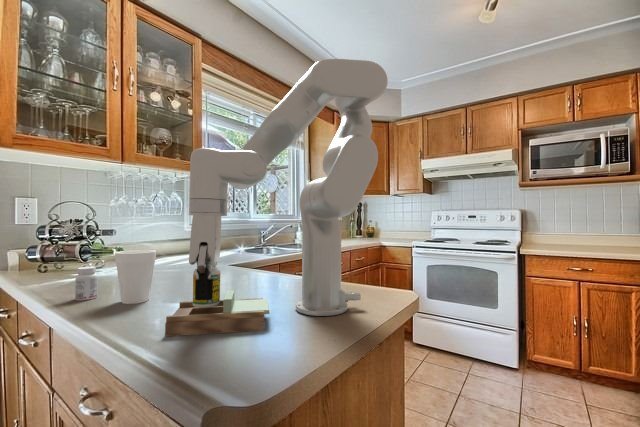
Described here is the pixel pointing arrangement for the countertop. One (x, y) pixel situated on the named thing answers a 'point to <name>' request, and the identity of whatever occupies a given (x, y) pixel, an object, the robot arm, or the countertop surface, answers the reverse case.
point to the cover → (243, 304)
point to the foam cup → (135, 274)
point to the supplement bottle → (216, 289)
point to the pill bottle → (86, 283)
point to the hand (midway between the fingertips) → (206, 295)
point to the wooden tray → (211, 320)
